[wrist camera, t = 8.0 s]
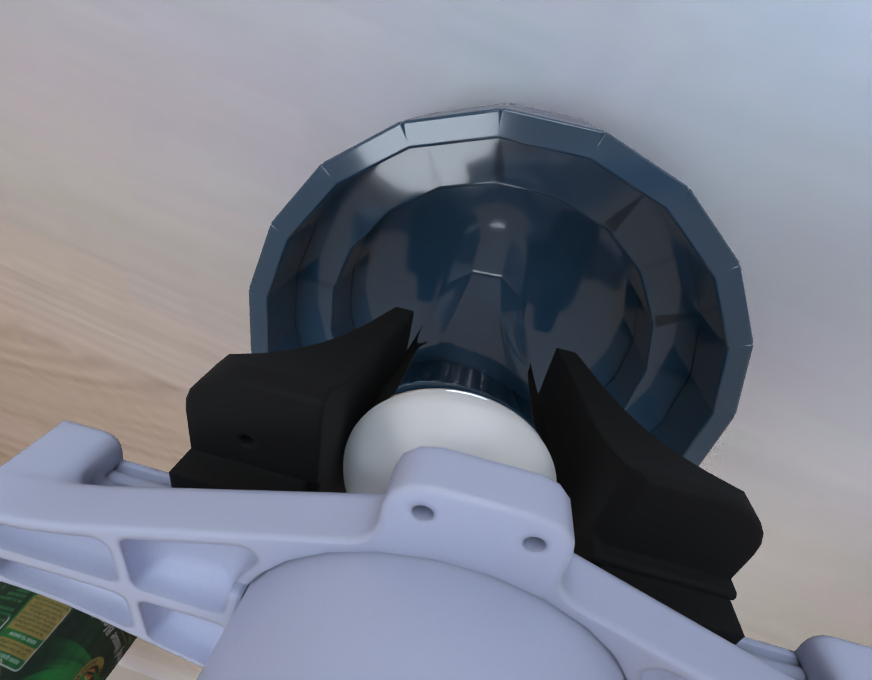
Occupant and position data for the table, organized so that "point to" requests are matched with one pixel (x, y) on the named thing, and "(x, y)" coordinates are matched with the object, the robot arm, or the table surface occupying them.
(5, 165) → the table surface
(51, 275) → the table surface
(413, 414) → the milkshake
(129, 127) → the table surface
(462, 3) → the table surface
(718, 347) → the bowl
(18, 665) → the coffee jar
